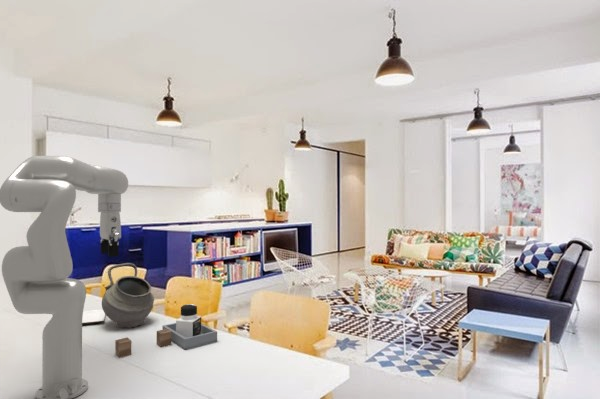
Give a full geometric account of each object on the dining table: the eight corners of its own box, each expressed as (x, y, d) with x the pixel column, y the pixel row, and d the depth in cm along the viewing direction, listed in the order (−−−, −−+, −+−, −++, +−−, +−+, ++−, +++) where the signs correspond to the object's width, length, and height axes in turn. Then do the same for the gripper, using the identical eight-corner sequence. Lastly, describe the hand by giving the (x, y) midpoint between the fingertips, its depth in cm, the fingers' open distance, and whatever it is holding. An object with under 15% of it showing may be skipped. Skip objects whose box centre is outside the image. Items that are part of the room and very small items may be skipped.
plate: (103, 324, 171) (103, 320, 171) (53, 330, 164) (53, 325, 164) (106, 313, 188) (106, 308, 188) (60, 317, 181) (60, 312, 181)
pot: (104, 319, 178) (104, 263, 178) (153, 314, 185) (154, 260, 185) (98, 334, 158) (99, 271, 158) (154, 328, 166) (154, 268, 166)
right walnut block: (171, 344, 148) (171, 331, 148) (160, 347, 145) (160, 333, 145) (167, 341, 151) (167, 328, 151) (156, 344, 148) (156, 330, 148)
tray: (217, 341, 152) (217, 331, 152) (184, 350, 143) (184, 339, 143) (193, 328, 167) (193, 319, 167) (162, 335, 158) (162, 325, 158)
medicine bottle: (193, 340, 150) (193, 308, 150) (175, 338, 152) (175, 307, 152) (201, 334, 157) (201, 303, 157) (184, 332, 159) (184, 302, 159)
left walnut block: (131, 354, 139) (131, 340, 138) (119, 357, 136) (119, 343, 136) (127, 351, 141) (127, 337, 141) (115, 354, 139) (115, 340, 139)
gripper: (128, 208, 142) (128, 256, 142) (113, 207, 155) (113, 251, 155) (105, 208, 137) (105, 258, 137) (91, 207, 150) (91, 253, 150)
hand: (109, 255), depth 146 cm, fingers open, 9 cm apart
